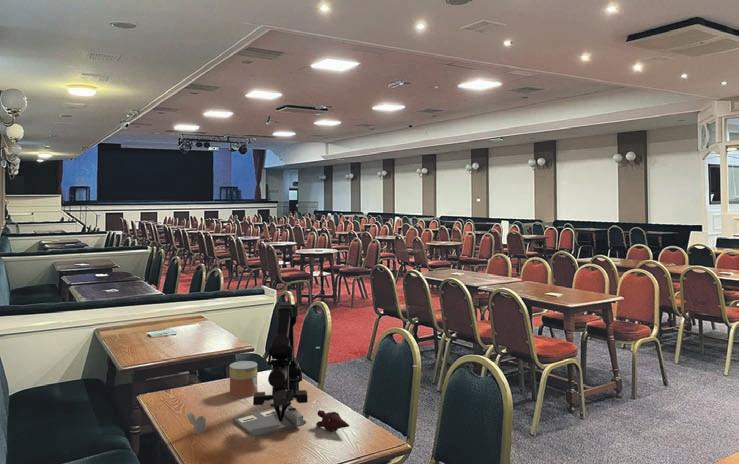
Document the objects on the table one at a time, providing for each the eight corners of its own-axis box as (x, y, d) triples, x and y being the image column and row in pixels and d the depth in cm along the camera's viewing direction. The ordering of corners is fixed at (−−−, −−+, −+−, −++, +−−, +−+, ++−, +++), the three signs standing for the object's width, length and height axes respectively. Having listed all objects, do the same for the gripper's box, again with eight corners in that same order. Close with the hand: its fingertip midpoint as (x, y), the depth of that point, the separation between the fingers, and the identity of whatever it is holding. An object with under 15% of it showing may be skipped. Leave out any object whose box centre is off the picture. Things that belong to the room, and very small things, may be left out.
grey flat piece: (202, 428, 195) (202, 406, 195) (206, 430, 195) (205, 407, 194) (186, 436, 189) (186, 413, 189) (190, 437, 188) (190, 414, 188)
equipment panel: (281, 408, 214) (281, 405, 214) (305, 423, 200) (305, 420, 200) (232, 421, 202) (232, 417, 202) (255, 438, 188) (255, 434, 188)
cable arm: (276, 408, 210) (276, 399, 210) (283, 406, 212) (283, 398, 212) (296, 425, 195) (295, 416, 194) (303, 423, 196) (303, 414, 196)
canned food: (254, 398, 225) (254, 369, 224) (226, 398, 225) (226, 368, 224) (260, 388, 236) (259, 360, 236) (233, 388, 236) (233, 360, 236)
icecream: (356, 414, 193) (325, 407, 202) (342, 415, 187) (311, 408, 197) (354, 435, 191) (323, 427, 201) (340, 437, 186) (308, 429, 195)
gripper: (252, 386, 187) (252, 432, 188) (308, 384, 190) (308, 429, 191) (254, 376, 198) (254, 419, 199) (306, 374, 201) (306, 416, 202)
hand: (280, 421), depth 197 cm, fingers closed
